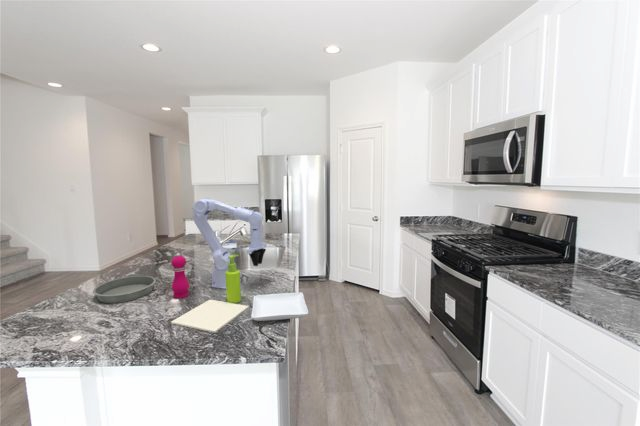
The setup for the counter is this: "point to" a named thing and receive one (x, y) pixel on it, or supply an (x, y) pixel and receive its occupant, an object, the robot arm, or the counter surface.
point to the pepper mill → (179, 277)
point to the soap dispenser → (233, 282)
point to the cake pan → (124, 289)
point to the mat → (210, 315)
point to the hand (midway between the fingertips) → (257, 264)
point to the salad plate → (279, 306)
